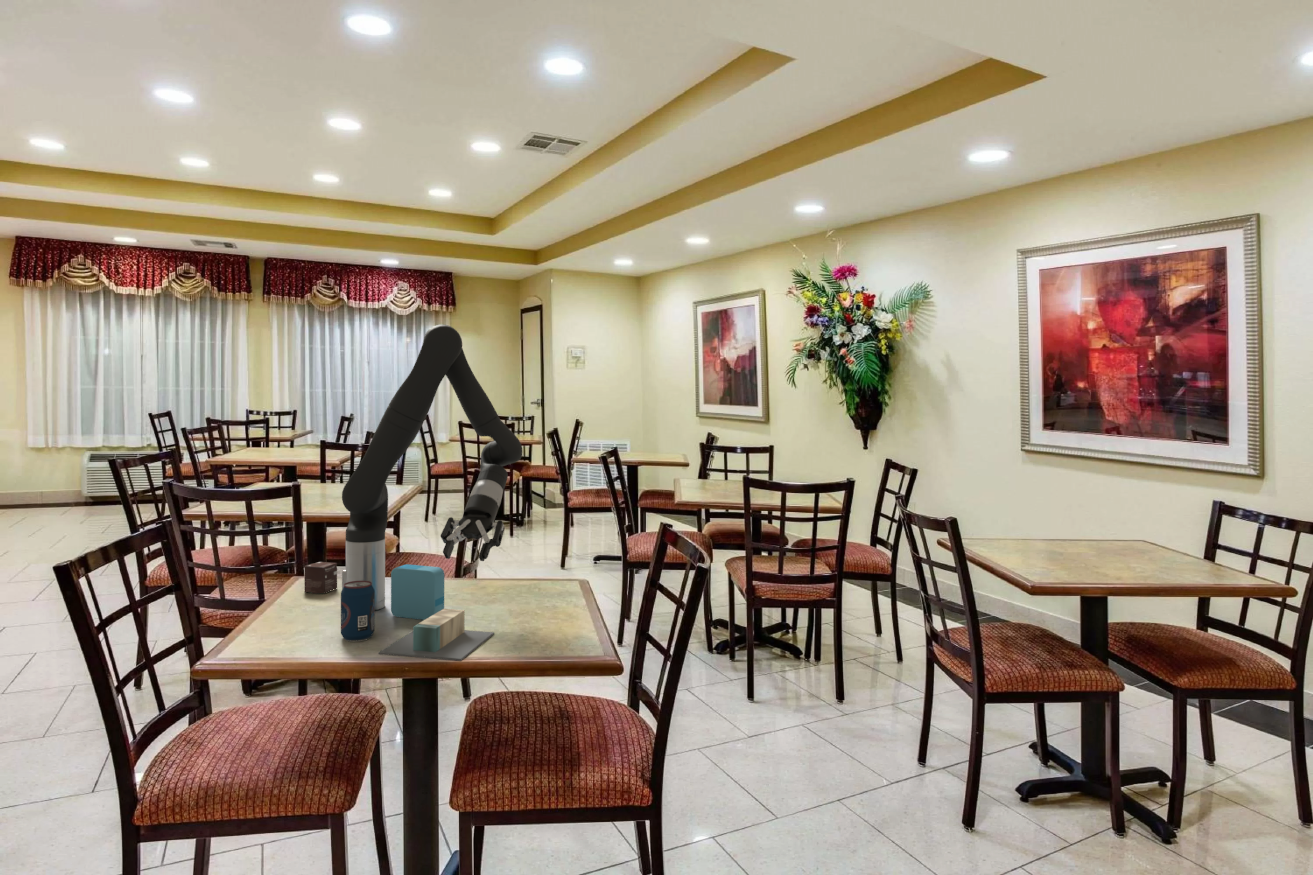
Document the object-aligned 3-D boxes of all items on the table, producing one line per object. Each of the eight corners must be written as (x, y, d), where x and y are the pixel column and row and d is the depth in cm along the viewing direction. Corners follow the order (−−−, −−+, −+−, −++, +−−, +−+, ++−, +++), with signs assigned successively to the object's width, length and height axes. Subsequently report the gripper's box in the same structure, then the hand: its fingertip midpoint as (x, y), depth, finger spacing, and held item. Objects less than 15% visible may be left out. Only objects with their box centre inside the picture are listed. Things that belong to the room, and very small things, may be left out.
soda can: (336, 636, 169) (336, 582, 168) (369, 630, 173) (369, 578, 173) (345, 644, 163) (345, 588, 163) (378, 638, 168) (378, 584, 167)
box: (323, 594, 203) (323, 567, 203) (303, 593, 204) (303, 565, 204) (337, 589, 209) (337, 562, 209) (318, 587, 210) (318, 561, 210)
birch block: (443, 630, 173) (413, 650, 159) (443, 608, 173) (413, 626, 159) (464, 631, 172) (435, 652, 159) (464, 610, 172) (435, 628, 158)
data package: (444, 616, 186) (444, 567, 185) (434, 621, 181) (434, 571, 181) (401, 611, 189) (401, 563, 188) (390, 616, 185) (390, 567, 184)
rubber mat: (378, 654, 158) (378, 652, 158) (419, 628, 176) (419, 626, 175) (461, 660, 155) (461, 658, 155) (494, 633, 173) (494, 632, 173)
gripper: (452, 491, 186) (429, 547, 176) (507, 494, 184) (488, 550, 173) (461, 510, 192) (440, 565, 181) (515, 513, 189) (497, 568, 179)
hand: (463, 558), depth 177 cm, fingers open, 8 cm apart
